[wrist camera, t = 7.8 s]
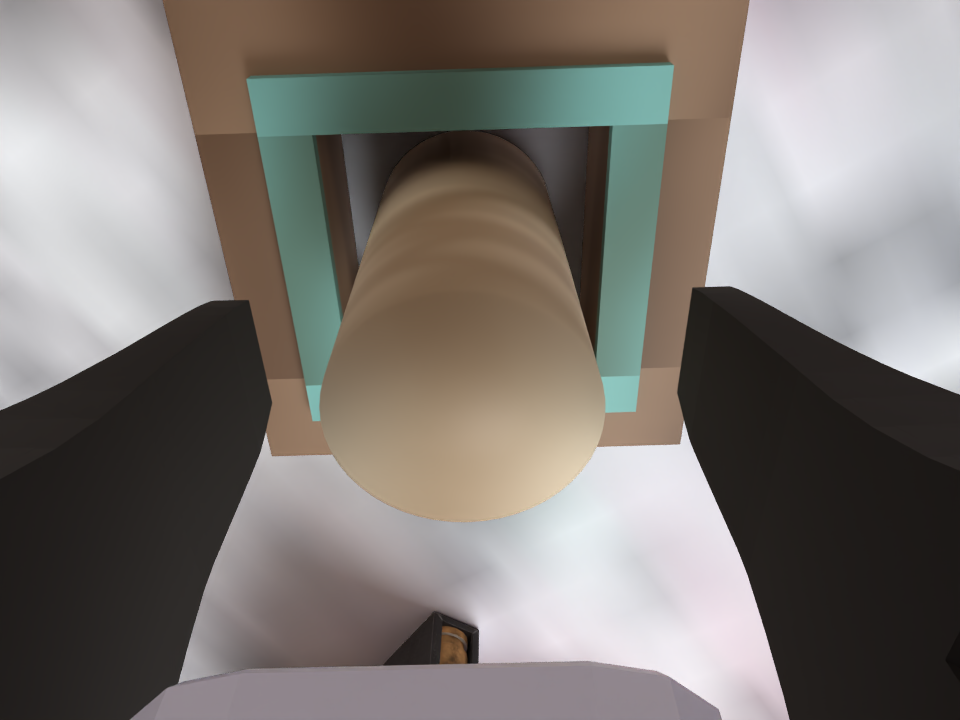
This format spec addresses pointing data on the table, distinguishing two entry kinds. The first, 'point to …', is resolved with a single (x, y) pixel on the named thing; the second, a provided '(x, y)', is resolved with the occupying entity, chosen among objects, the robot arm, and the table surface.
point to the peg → (463, 342)
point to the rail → (452, 107)
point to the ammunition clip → (439, 644)
